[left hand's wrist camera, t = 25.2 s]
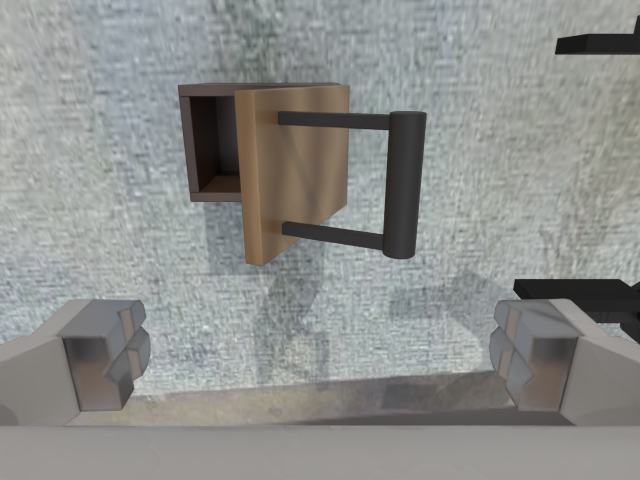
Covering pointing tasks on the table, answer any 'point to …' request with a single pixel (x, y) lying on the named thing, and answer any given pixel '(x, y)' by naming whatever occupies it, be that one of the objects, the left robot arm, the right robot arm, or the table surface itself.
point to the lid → (319, 170)
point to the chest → (215, 137)
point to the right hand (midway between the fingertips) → (543, 182)
